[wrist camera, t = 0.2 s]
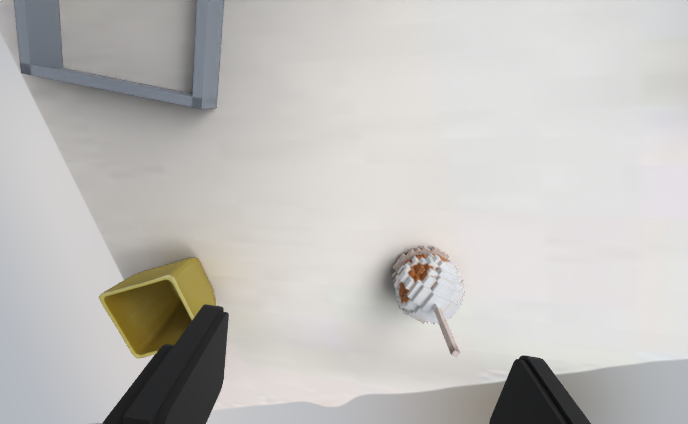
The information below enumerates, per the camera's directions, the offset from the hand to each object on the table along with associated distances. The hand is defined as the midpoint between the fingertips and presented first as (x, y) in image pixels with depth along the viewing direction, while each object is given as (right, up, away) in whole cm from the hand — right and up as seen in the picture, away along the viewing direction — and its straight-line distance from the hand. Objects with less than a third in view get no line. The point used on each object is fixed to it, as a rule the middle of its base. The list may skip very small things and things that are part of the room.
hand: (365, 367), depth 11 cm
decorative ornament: (+9, -3, +34) cm, 35 cm away
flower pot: (-21, -4, +35) cm, 41 cm away
